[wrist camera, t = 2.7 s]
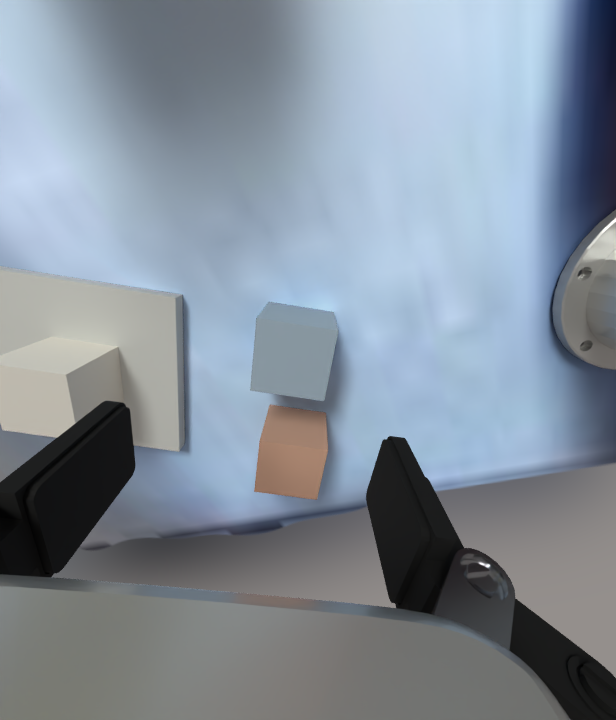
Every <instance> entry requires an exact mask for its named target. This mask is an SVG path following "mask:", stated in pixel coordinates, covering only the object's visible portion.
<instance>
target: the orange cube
mask: <svg viewBox="0 0 616 720" xmlns="http://www.w3.org/2000/svg"><path fill="white" fill-rule="evenodd" d="M327 453H328V441H327V425H326V413H325V412H318V411H311V410H304V409H297V408H290V407H283V406H276V405H270V406H269V409H268V413H267V417H266V420H265V424H264V427H263V431H262V435H261V438H260V443H259V453H258V462H257V471H256V481H255V490H254V492H262V493H269V494H277V495H284V496H292V497H299V498H307V499H315V500H317V497H318V493H319V488H320V484H321V479H322V475H323V470H324V466H325V462H326V457H327Z"/></svg>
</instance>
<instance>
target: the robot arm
mask: <svg viewBox="0 0 616 720" xmlns="http://www.w3.org/2000/svg"><path fill="white" fill-rule="evenodd" d="M552 309H553V324H554V327H555V330H556V333H557V336H558V338H559V339H560V341H561V343H562V344H563V346H564V347H565V348H566V349H567V350H568V351H569V352H570V353H572V354H573V355H574V356H576V357H577V358H579V359H581V360H583V361H585V362H587V363H590V364H592V365H595V366H598V367H600V368H605V369H611V370H616V210H615V211H613V212H612V213H611V214H610V215H608V216H607V217H606V218H605V219H603V220H602V221H601V222H600V223H598V225H597V226H596V227H595V228H594V229H593V230H592V231H591V232H590V233H589V234H588V235H587V236H586V237H585V238H584V239H583V240H582V242H581V243H580V244H579V246H578V247H577V248H576V250H575V251H574V253H573V254H572V255H571V257H570V258H569V260H568V262H567V264H566V266H565V268H564V270H563V272H562V273H561V276H560V278H559V281H558V284H557V287H556V290H555V294H554V301H553V308H552ZM134 470H135V456H134V446H133V435H132V425H131V414H130V409H129V408H128V407H126V405H125V404H124V403H123V402H115V401H104V402H102V403H101V404H99V405H98V406H97V407H96V408H94V409H93V410H92V411H91V412H89V413H88V414H87V415H85V416H84V417H83V418H82V419H80V420H79V421H78V422H77V423H75V424H74V425H73V426H71V427H70V428H69V429H68V430H66V431H65V432H64V433H63V434H61V435H60V436H59V437H57V438H56V439H55V440H54V441H52V442H51V443H50V444H48V445H47V446H46V447H45V448H43V449H42V450H41V451H40V452H38V453H37V454H36V455H34V456H33V457H32V458H31V459H29V460H28V461H27V462H26V463H24V464H23V465H22V466H20V467H19V468H18V469H17V470H15V471H14V472H13V473H12V474H10V475H9V476H8V477H6V478H5V479H4V480H3V481H1V482H0V720H616V678H615V677H614V676H613V675H612V674H611V673H610V672H609V671H608V670H607V669H606V668H605V667H604V666H602V665H601V664H600V663H599V662H598V661H596V660H595V659H594V658H593V657H591V656H590V655H588V654H587V653H586V652H585V651H583V650H582V649H581V648H579V647H578V646H577V645H575V644H574V643H573V642H572V641H570V640H569V639H568V638H566V637H565V636H564V635H563V634H561V633H560V632H559V631H557V630H556V629H555V628H553V627H552V626H551V625H549V624H548V623H547V622H546V621H544V620H543V619H542V618H540V617H539V616H538V615H536V614H535V613H534V612H532V611H531V610H530V609H528V608H527V607H526V606H525V605H523V604H522V603H521V602H519V601H518V600H517V599H515V590H514V587H513V585H512V582H511V580H510V578H509V577H508V575H507V574H506V572H505V571H504V570H503V569H502V568H501V567H500V566H499V565H498V563H497V562H495V561H494V560H493V559H491V558H490V557H489V556H487V555H486V554H484V553H482V552H480V551H478V550H475V549H471V548H464V547H463V545H462V543H461V541H460V539H459V537H458V535H457V533H456V532H455V530H454V528H453V526H452V524H451V522H450V520H449V518H448V516H447V514H446V512H445V510H444V508H443V507H442V505H441V502H440V501H439V499H438V497H437V495H436V493H435V491H434V489H433V487H432V485H431V483H430V481H429V480H428V478H426V477H425V476H424V474H423V472H422V470H421V468H420V466H419V464H418V462H417V460H416V458H415V456H414V454H413V452H412V450H411V448H410V446H409V444H408V443H407V441H406V439H405V438H401V437H393V436H389V437H388V438H387V440H385V439H384V440H383V441H382V444H381V447H380V451H379V454H378V457H377V460H376V464H375V467H374V470H373V473H372V476H371V480H370V483H369V486H368V489H367V494H366V501H367V506H368V510H369V514H370V518H371V523H372V527H373V531H374V535H375V540H376V544H377V548H378V553H379V557H380V561H381V566H382V570H383V574H384V578H385V582H386V587H387V591H388V595H389V599H390V601H391V602H392V603H395V604H396V608H388V607H379V606H370V605H361V604H353V603H343V602H332V601H322V600H311V599H300V598H290V597H289V598H288V597H279V596H268V595H257V594H245V593H234V592H223V591H211V590H199V589H187V588H175V587H165V586H153V585H140V584H128V583H115V582H103V581H91V580H79V579H66V578H65V579H64V578H51V577H52V575H53V574H54V573H58V572H60V571H61V570H62V569H63V568H64V566H65V565H66V564H67V562H68V561H69V560H70V558H71V557H72V556H73V554H74V553H75V552H76V550H77V549H78V548H79V546H80V545H81V544H82V542H83V541H84V540H85V538H86V537H87V536H88V534H89V533H90V532H91V530H92V529H93V528H94V526H95V525H96V524H97V522H98V521H99V520H100V518H101V517H102V515H103V514H104V513H105V511H106V510H107V509H108V507H109V506H110V505H111V503H112V502H113V501H114V499H115V498H116V497H117V495H118V494H119V493H120V491H121V490H122V489H123V487H124V486H125V485H126V483H127V482H128V481H129V479H130V478H131V477H132V475H133V473H134Z"/></svg>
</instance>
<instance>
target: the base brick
mask: <svg viewBox="0 0 616 720" xmlns="http://www.w3.org/2000/svg"><path fill="white" fill-rule="evenodd" d="M104 401H115V402H123V403H124V395H123V386H122V377H121V368H120V359H119V350H118V346H111V345H104V344H98V343H91V342H84V341H78V340H71V339H64V338H58V337H49V338H47V339H44V340H41V341H38V342H36V343H33V344H30V345H28V346H25V347H22V348H19V349H17V350H14V351H11V352H8V353H6V354H3V355H0V423H1V426H2V430H6V431H13V432H20V433H27V434H35V435H42V436H49V437H59V436H60V435H61V434H63V433H64V432H65V431H66V430H68V429H69V428H70V427H71V426H73V425H74V424H75V423H77V422H78V421H79V420H80V419H82V418H83V417H84V416H85V415H87V414H88V413H89V412H91V411H92V410H93V409H94V408H96V407H97V406H98V405H99V404H101V403H102V402H104Z"/></svg>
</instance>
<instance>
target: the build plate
mask: <svg viewBox="0 0 616 720" xmlns="http://www.w3.org/2000/svg"><path fill="white" fill-rule="evenodd" d="M49 337H58V338H64V339H71V340H78V341H84V342H91V343H98V344H104V345H111V346H118V350H119V359H120V368H121V377H122V386H123V395H124V404H125V405H126V407H128V408H129V409H130V414H131V425H132V435H133V445H135V446H142V447H149V448H157V449H164V450H171V451H178V452H179V451H180V450H181V448H182V447H183V445H184V444H185V415H184V353H183V295H181V294H174V293H168V292H162V291H155V290H149V289H143V288H136V287H130V286H124V285H117V284H111V283H105V282H98V281H92V280H86V279H79V278H73V277H67V276H60V275H54V274H48V273H41V272H35V271H29V270H22V269H16V268H10V267H3V266H0V355H3V354H6V353H8V352H11V351H14V350H17V349H19V348H22V347H25V346H28V345H30V344H33V343H36V342H38V341H41V340H44V339H47V338H49Z"/></svg>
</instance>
